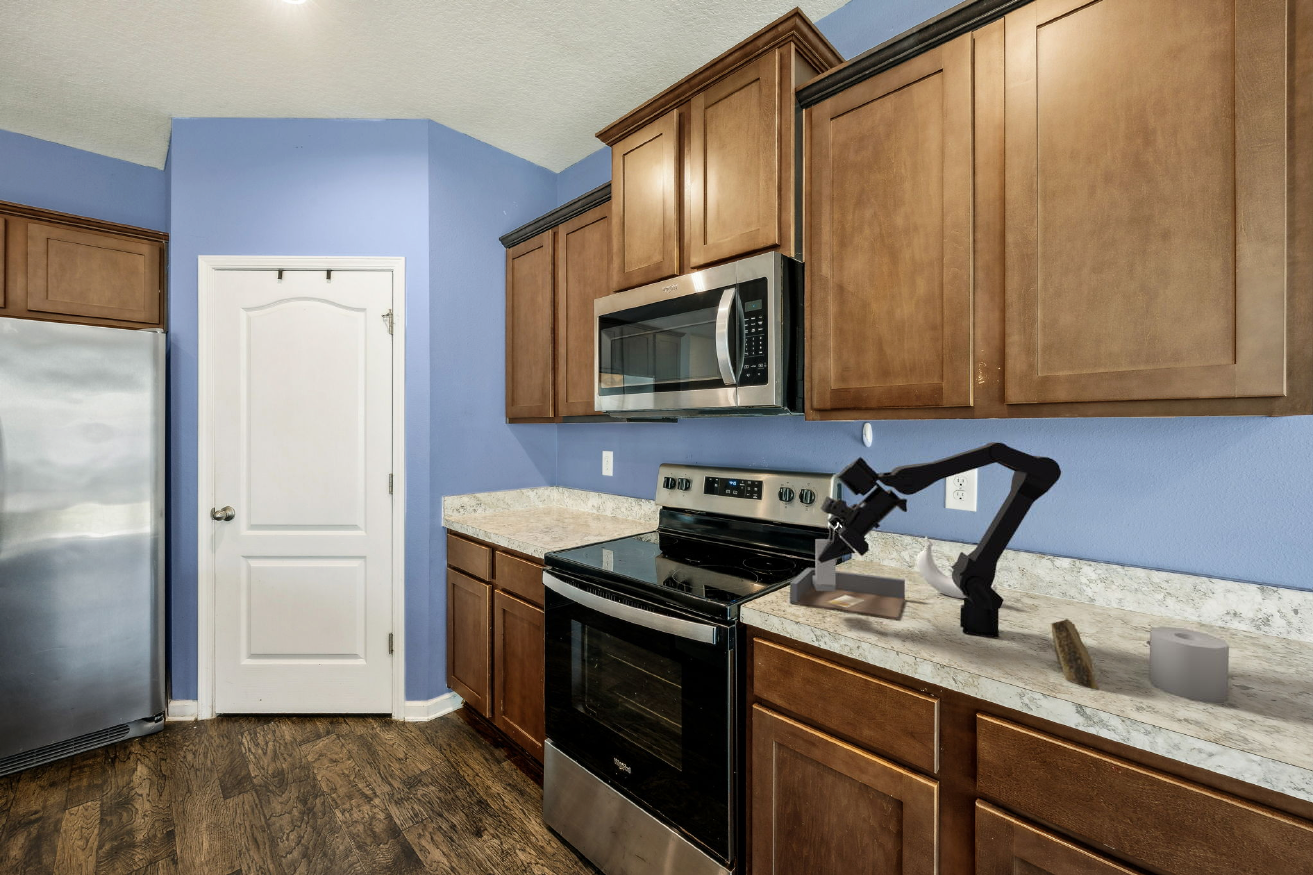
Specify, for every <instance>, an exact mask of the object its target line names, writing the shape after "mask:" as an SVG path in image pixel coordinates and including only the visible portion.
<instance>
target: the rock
mask: <svg viewBox="0 0 1313 875" xmlns="http://www.w3.org/2000/svg"><path fill="white" fill-rule="evenodd" d="M1051 634H1052V640H1053V643H1054V644H1053V646H1054V652H1055V653H1056V654H1055V655H1056V659H1057V661H1058V664H1060V666H1061V668H1062V672H1063V676H1064V678H1065V680H1067V681H1068V682H1072V683H1074V684H1076V685H1079V686H1082V687H1086V688H1090V689H1094V690H1099V686H1097V683H1096V680H1095V675H1094V669H1093V661H1092V658H1091V655H1090V653H1089V652H1088V650H1087V647H1086V645H1085V644H1084V642H1083V641H1082V639H1081V636H1080V633H1079V631H1078V629H1077V628H1076V625H1075V623H1073V622H1072V621H1070V620H1069V618H1068V619H1067V618H1065V619H1063V620H1060V621H1054V622H1051Z"/></svg>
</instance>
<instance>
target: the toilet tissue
mask: <svg viewBox="0 0 1313 875" xmlns="http://www.w3.org/2000/svg"><path fill="white" fill-rule="evenodd" d="M1149 630H1150V631H1149V632H1150V633H1149V640H1147V641H1146V642H1145V643H1147V645H1149V667H1148V668H1149V670H1148V671H1149V673H1148V675H1149V676H1148V679H1149V682H1150V686H1153V687H1155V688H1156V689H1159V690H1161V691H1162V692H1165V694H1169V695H1172V696H1176V697H1179V698H1183V699H1186V700H1190V701H1194V702H1201V703H1209V704H1210V703H1211V704H1218V703H1222V702H1227V701H1229V664H1230V662H1229V661H1230V658H1229V657H1230V656H1229V655H1230V646H1229V644H1228V643H1227V642H1226V640H1224V639H1222V638H1220V637H1217V636H1214V635H1211V634H1209V633H1206V632H1201V631H1195V630H1193V629H1192V630H1191V629H1188V628H1181V627H1180V628H1179V627H1171V626H1156V627H1152V628H1151V627H1150V628H1149Z"/></svg>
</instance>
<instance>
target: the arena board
mask: <svg viewBox="0 0 1313 875" xmlns="http://www.w3.org/2000/svg"><path fill="white" fill-rule="evenodd" d="M789 603H792V604H791V605H797V604H800V605H799V606H803V605H804V606H805V607H809V606H812V607H811V608H816V609H822V608H824V610H829V611H835V610H837V611H836V612H842V611H844V612H843V613H847V614H848V613H849V614H855V613H857V615H864V616H868V615H870V616H869V617H874V618H881V619H889V620H893V619H894V621H898V619H899V617H900V614H901V611H902V609H903V605H904V603H905V600H904V599H902V598H895V597H888V596H881V595H873V594H866V593H859V592H851V591H844V590H837V589H835V592H833V591H816V588H815V586H812V587H811V588H810V589H809V590H808V591H807V592H806V593H805V594H804V595H803V596H802V597H801V598H800V599H799V600H798V601H797V603H796V602H795V603H796V604H794V602H791V601H790V600H789Z"/></svg>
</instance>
